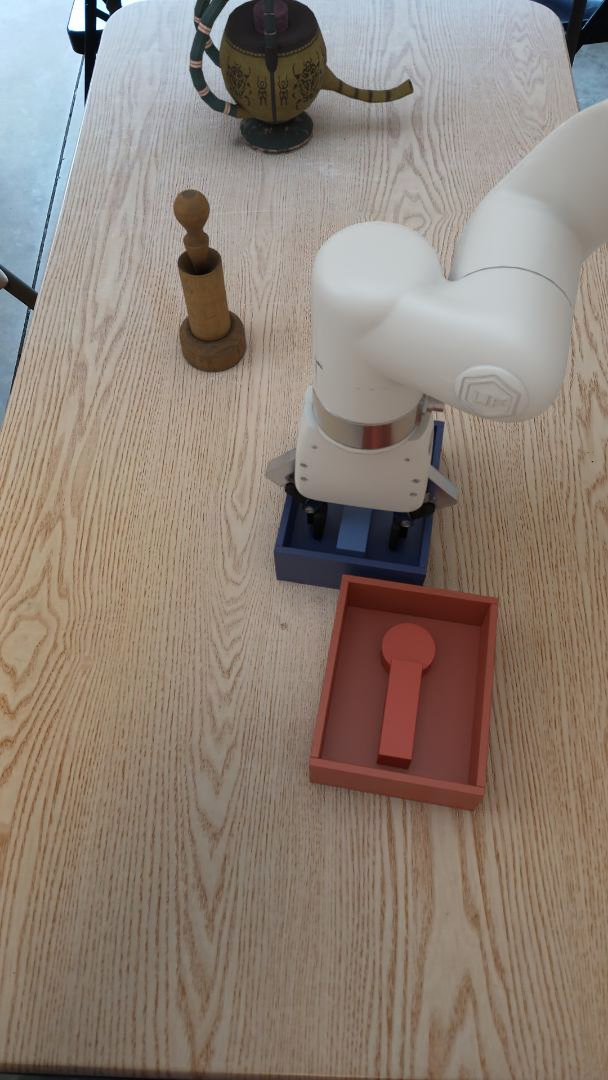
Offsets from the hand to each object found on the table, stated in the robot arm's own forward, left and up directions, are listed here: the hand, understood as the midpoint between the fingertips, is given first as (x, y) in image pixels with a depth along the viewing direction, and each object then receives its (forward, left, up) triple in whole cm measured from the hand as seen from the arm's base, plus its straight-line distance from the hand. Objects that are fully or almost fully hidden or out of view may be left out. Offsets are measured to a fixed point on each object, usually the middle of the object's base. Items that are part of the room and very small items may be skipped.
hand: (357, 529), depth 72 cm
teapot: (+43, -37, -1) cm, 57 cm away
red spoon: (-13, +9, 0) cm, 15 cm away
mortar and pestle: (+25, -6, -1) cm, 26 cm away
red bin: (-13, +8, -1) cm, 15 cm away
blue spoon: (+1, -2, 0) cm, 2 cm away
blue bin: (+1, -2, -1) cm, 2 cm away
